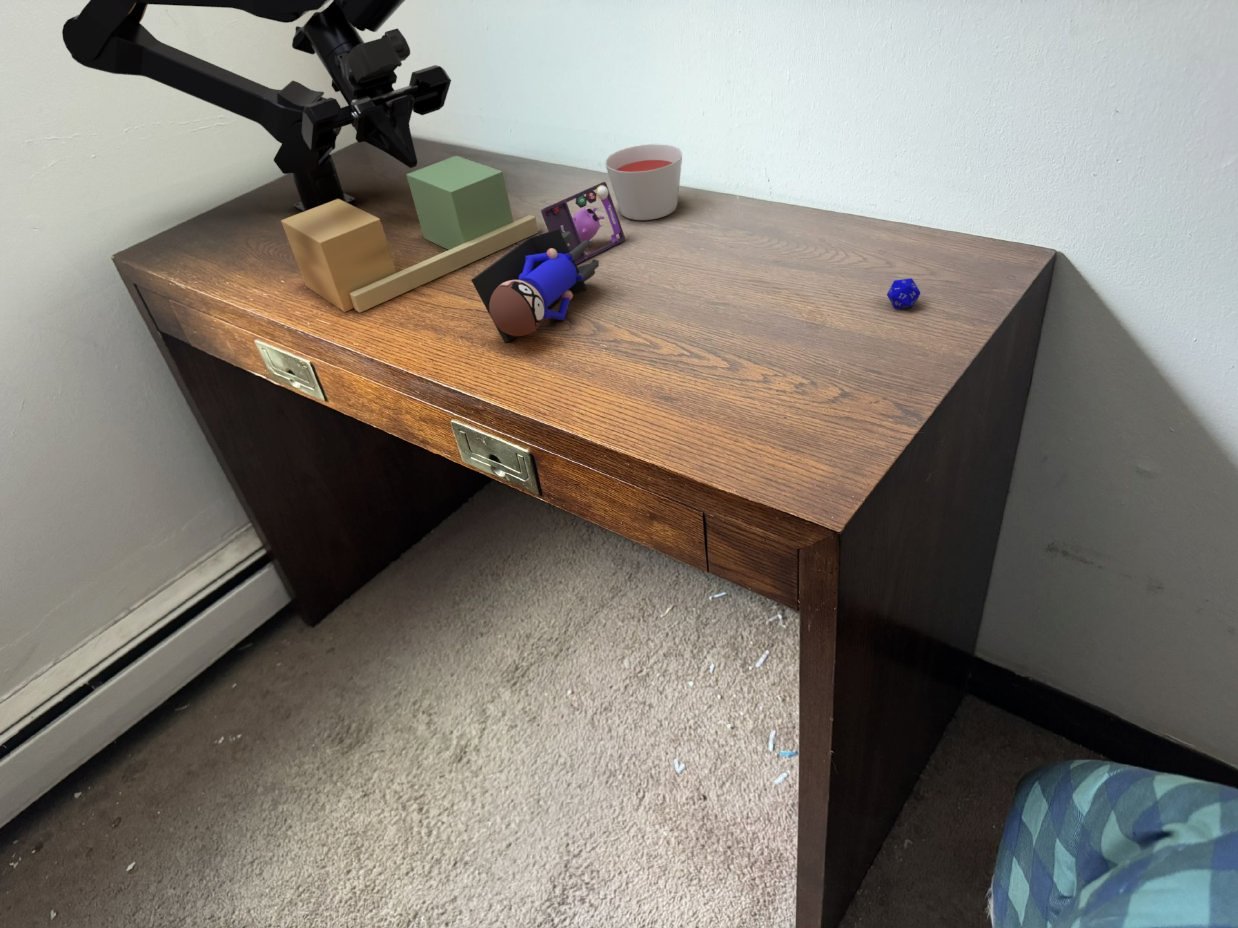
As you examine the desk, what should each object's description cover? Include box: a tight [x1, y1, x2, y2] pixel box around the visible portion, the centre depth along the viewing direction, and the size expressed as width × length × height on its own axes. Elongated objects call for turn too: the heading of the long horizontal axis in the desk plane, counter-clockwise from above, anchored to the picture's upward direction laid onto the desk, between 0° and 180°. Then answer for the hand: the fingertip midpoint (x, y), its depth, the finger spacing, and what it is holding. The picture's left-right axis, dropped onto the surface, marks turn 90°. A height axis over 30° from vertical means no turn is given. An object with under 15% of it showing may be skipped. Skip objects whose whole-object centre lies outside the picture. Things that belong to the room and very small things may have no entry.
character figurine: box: [470, 229, 600, 343], centre depth 84 cm, size 8×7×15 cm
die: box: [886, 277, 921, 310], centre depth 79 cm, size 3×3×3 cm
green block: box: [406, 155, 514, 251], centre depth 102 cm, size 10×7×8 cm
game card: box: [540, 181, 626, 265], centre depth 97 cm, size 7×5×9 cm
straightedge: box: [350, 214, 539, 314], centre depth 98 cm, size 1×24×2 cm, turn 131°
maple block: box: [280, 199, 397, 313], centre depth 95 cm, size 10×7×8 cm
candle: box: [604, 143, 683, 221], centre depth 103 cm, size 9×9×6 cm
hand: (414, 165), depth 106 cm, fingers closed
